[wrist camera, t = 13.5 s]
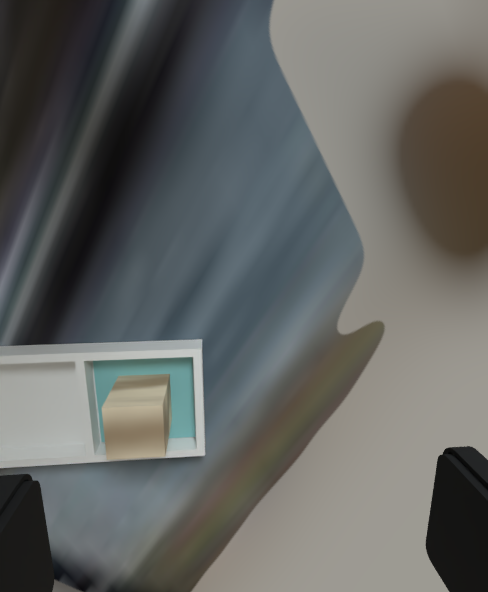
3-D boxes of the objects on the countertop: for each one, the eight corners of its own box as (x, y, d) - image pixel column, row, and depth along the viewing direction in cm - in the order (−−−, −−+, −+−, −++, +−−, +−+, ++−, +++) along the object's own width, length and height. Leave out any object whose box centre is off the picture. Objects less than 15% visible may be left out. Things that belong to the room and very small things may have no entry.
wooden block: (118, 375, 37) (101, 408, 31) (169, 373, 37) (162, 405, 31) (122, 420, 38) (106, 459, 32) (172, 418, 38) (165, 456, 33)
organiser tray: (-35, 347, 35) (-52, 357, 33) (202, 339, 37) (201, 348, 35) (-14, 453, 38) (-29, 469, 36) (205, 440, 40) (204, 455, 38)
